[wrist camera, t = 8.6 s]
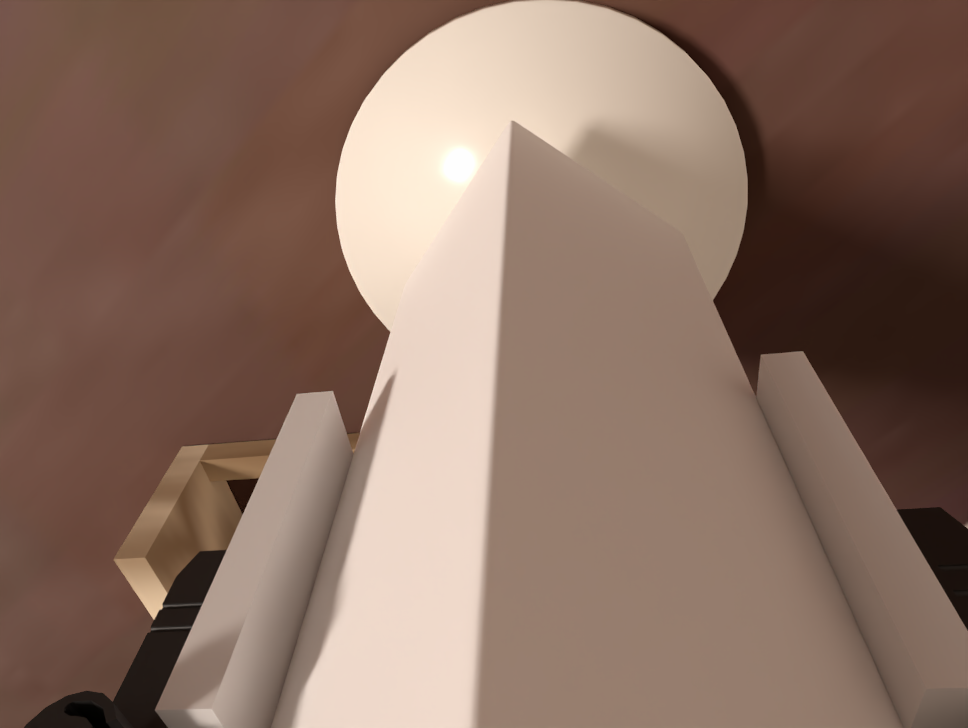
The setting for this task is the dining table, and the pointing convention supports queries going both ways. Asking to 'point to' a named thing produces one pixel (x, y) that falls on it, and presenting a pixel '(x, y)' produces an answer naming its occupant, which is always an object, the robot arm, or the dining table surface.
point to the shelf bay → (189, 514)
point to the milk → (570, 496)
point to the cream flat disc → (537, 132)
